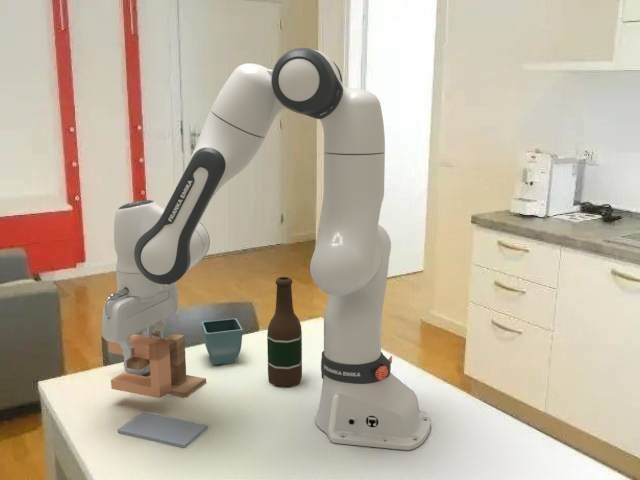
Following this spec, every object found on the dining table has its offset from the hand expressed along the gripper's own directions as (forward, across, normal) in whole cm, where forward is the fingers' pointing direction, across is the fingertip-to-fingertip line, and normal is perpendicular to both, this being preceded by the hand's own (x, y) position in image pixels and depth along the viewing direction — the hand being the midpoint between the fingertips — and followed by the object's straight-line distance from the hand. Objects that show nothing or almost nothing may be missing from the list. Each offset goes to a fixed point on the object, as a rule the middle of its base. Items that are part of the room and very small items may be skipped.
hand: (143, 347), depth 132 cm
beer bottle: (+13, +22, -21) cm, 33 cm away
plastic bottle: (+13, +13, +12) cm, 22 cm away
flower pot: (+13, +27, -2) cm, 30 cm away
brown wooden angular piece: (+13, +5, 0) cm, 14 cm away
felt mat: (+13, -7, -9) cm, 17 cm away
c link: (+9, 0, +1) cm, 9 cm away
